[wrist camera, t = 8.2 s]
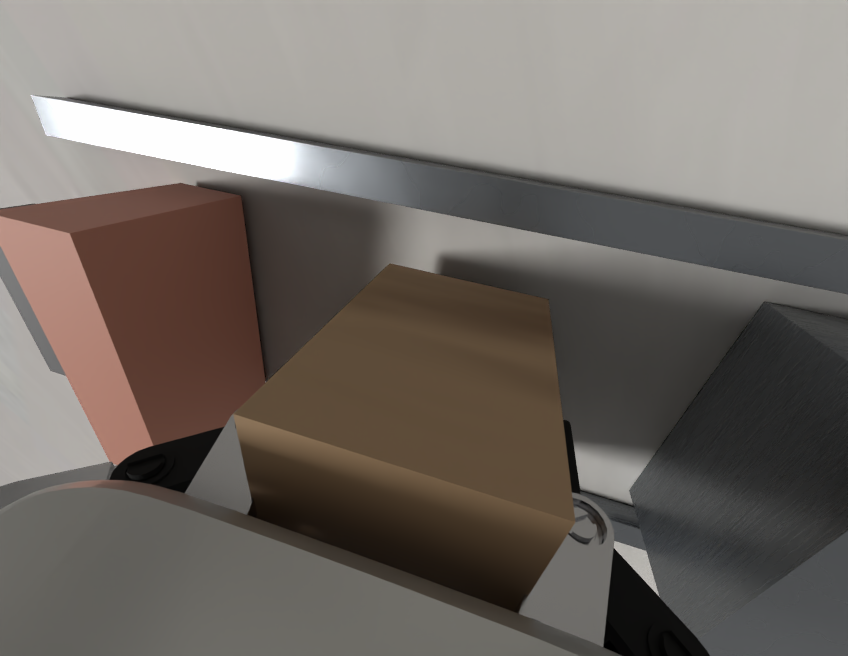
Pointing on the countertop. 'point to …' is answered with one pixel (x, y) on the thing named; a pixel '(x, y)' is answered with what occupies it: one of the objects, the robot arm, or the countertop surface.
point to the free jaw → (140, 307)
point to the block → (421, 435)
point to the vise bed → (704, 419)
